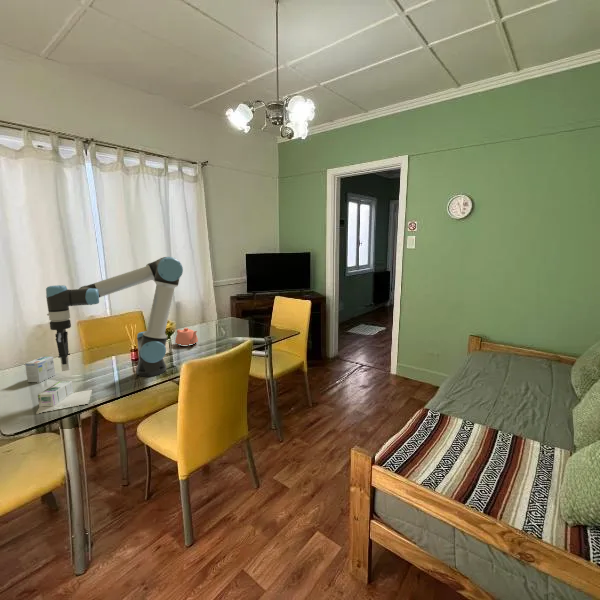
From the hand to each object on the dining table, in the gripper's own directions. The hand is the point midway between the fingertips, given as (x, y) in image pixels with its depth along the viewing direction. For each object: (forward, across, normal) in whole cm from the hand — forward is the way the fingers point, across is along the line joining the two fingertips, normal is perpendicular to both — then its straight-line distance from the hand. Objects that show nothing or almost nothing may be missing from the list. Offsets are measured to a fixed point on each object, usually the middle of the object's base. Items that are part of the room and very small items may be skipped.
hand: (65, 370), depth 148 cm
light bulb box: (+13, -31, -16) cm, 37 cm away
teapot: (+13, -60, +62) cm, 87 cm away
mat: (+12, +7, 0) cm, 14 cm away
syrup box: (+9, -3, -1) cm, 10 cm away
